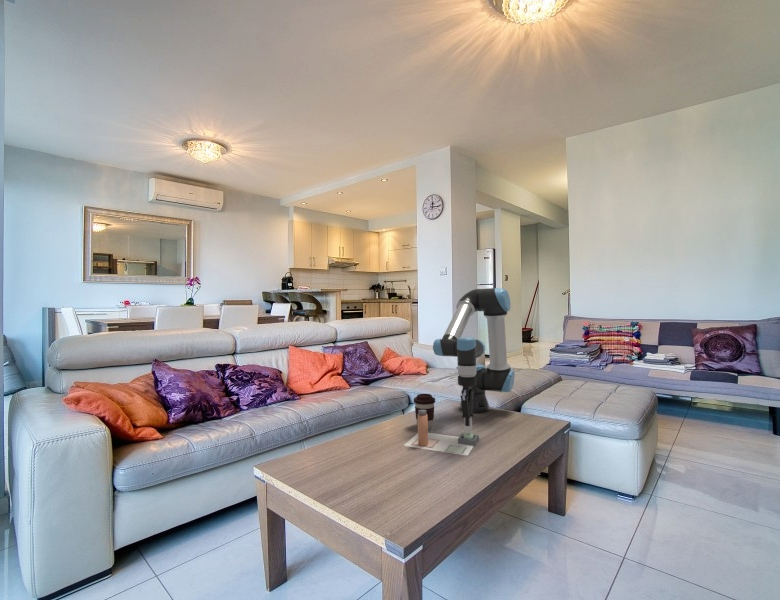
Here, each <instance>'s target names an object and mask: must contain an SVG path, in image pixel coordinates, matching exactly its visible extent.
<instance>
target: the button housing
mask: <svg viewBox="0 0 780 600" xmlns="http://www.w3.org/2000/svg"><path fill="white" fill-rule="evenodd" d="M463 433H464V432H462V433H461V434H460V435H459V436H458V437H459V438H458V444H465V445H472V446H474V447H475V446H476V445H477V444H478V442H479V441H480V434H474V433H473V437H474V439H473V440H472V439H464V435H463Z"/></svg>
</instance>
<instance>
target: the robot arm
mask: <svg viewBox="0 0 780 600" xmlns="http://www.w3.org/2000/svg"><path fill="white" fill-rule="evenodd" d="M455 309H456V310H455V312H454V314H453V316H452V317H451V320H450V322H449V324H448V326H447V328H446V330H445V332H444V334H443V336H442V337H441V338H438V339H437V338H436V339H435V340H434V342H433V344H432V349H433V354H434V355H435V356H438V357H456V358H457V359H456V360H457V366H456V369H457V375H458V376H457V385H458V386H461V387H462V389H461V394H460V403H459V404H460V405H459V407H460V410H461V411H462V416H461V418H463V419H464V421H463V422H464V423H463V424H464V432H465V433H467V434H472V433H473V419H472V417H473V418H474V416H475V414H474V413H484V412H488V411H489V410H490V406H489V405H490V404H489V401H488V398H487V395H486V391H487V392H497V393H498V392H499V393H510V392H511V391H512V390H513V388H514V383H515V371H514V369H512V368H511V365H510V364H509V363H508V360H507V359H508V357H507V356H508V355H507V342H506V323H505V317H506V316H507V315H508V312H509V311H510V310H511V299H510V294H509V292H508V290H507V289H505V288H503V287H502V288H501V287H498V288H497V287H491V288H475V289H472V290H469V291H468V292H466V293H465V294H464V295H463V296H461V298H460V299H458V302H457V304H456V308H455ZM477 312H483V316H484V317H485V318H486V325H487V336H488V337H487V339H488V353H489V363H488V364H487V365H486V366H485V364H477V358H479V357H481V356H482V355H483V354H484V353H485V351H486V345H485V343H484V342H483V341H482V340H481V339H475V337H469V336H467V337H466V336H463V337H462V335H463V333H464V331H465V329H466V327H467V324H468V322H469V319H470V317H471V316H473V315H474V314H475V313H477Z"/></svg>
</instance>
